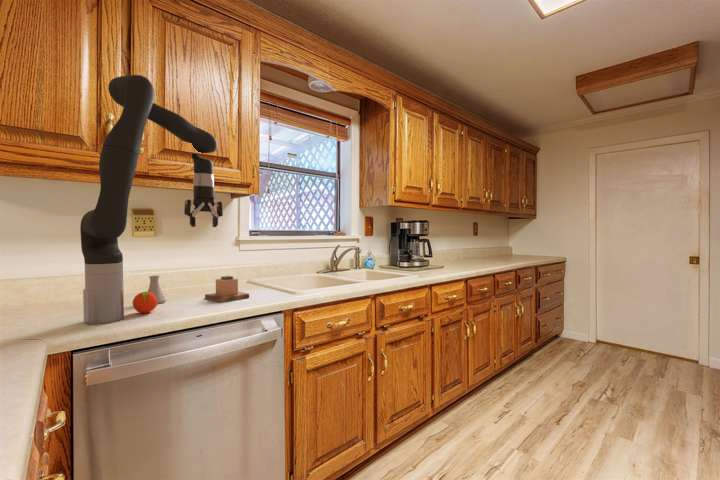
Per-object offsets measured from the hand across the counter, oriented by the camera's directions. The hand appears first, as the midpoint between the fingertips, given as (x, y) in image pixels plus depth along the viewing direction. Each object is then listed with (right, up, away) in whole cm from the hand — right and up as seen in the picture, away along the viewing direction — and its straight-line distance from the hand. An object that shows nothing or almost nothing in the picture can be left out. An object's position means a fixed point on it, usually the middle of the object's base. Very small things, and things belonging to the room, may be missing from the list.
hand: (204, 226), depth 139 cm
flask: (-14, -29, -9) cm, 33 cm away
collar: (+9, -27, -1) cm, 28 cm away
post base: (+9, -28, 0) cm, 30 cm away
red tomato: (-8, -29, -25) cm, 39 cm away
